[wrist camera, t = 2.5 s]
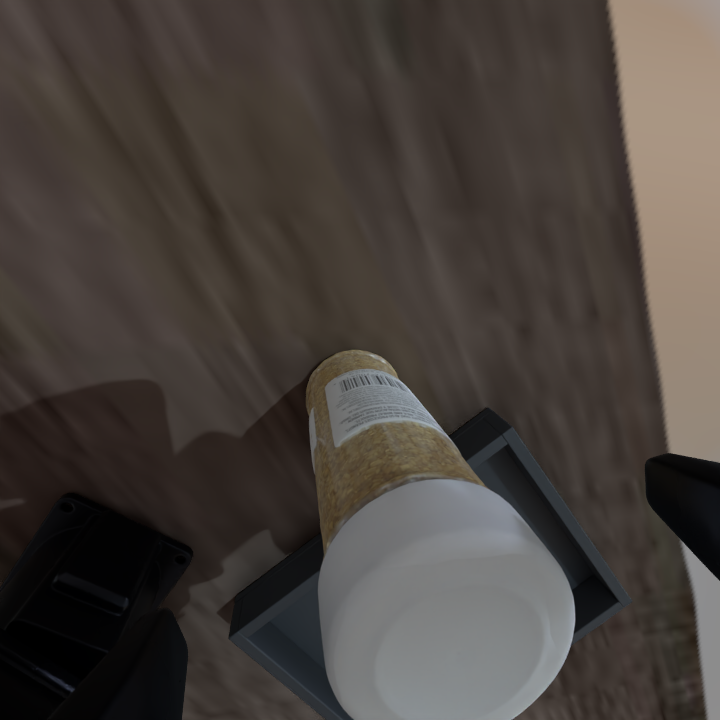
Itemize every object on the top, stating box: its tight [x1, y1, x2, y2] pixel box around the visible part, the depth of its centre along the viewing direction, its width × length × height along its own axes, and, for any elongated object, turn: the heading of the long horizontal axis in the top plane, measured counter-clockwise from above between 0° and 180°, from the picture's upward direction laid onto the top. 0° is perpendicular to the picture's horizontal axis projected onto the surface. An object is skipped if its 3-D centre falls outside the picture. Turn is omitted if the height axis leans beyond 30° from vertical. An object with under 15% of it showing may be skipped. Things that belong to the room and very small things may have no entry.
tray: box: [229, 408, 632, 720], centre depth 22 cm, size 16×13×2 cm
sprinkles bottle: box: [306, 350, 575, 720], centre depth 13 cm, size 5×5×14 cm
